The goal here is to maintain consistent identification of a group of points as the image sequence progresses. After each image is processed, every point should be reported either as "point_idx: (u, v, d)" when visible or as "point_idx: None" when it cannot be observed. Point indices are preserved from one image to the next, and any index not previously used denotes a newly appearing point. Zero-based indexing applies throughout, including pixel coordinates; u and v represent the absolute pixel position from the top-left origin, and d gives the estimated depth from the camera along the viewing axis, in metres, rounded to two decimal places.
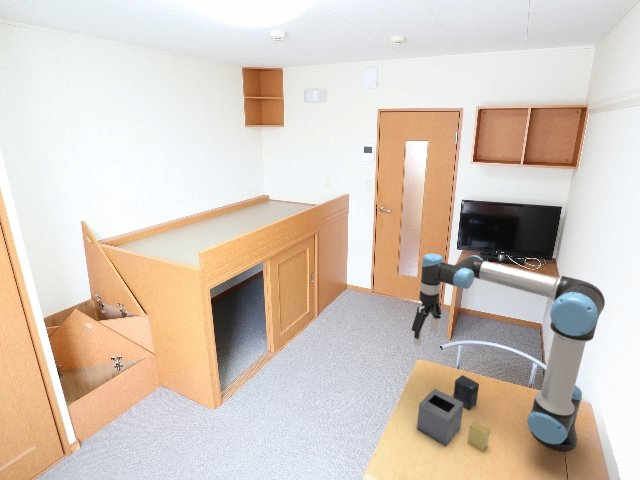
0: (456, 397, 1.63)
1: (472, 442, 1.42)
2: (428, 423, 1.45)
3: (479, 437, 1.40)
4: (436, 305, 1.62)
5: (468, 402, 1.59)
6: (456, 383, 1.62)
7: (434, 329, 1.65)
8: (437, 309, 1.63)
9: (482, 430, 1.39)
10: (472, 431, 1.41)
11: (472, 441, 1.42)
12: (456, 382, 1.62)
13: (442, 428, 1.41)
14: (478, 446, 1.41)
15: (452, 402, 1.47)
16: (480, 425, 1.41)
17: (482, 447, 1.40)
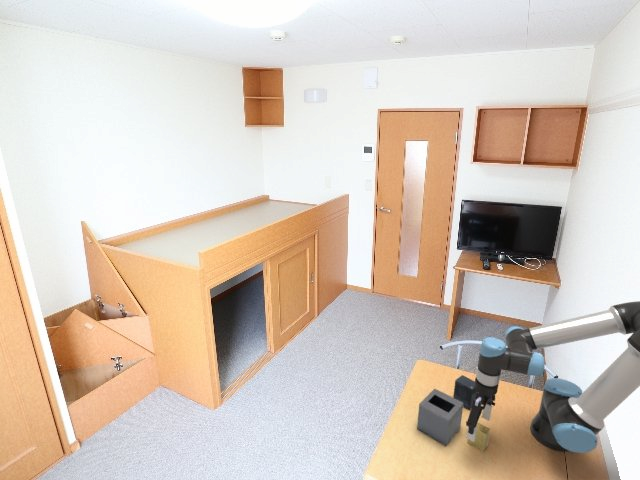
0: (456, 397, 1.63)
1: (472, 442, 1.42)
2: (428, 423, 1.45)
3: (479, 437, 1.40)
4: None
5: (468, 402, 1.59)
6: (456, 383, 1.62)
7: (487, 416, 1.45)
8: (492, 395, 1.43)
9: (482, 430, 1.39)
10: None
11: (472, 441, 1.42)
12: (456, 382, 1.62)
13: (442, 428, 1.41)
14: (478, 446, 1.41)
15: (452, 402, 1.47)
16: (480, 425, 1.41)
17: (482, 447, 1.40)
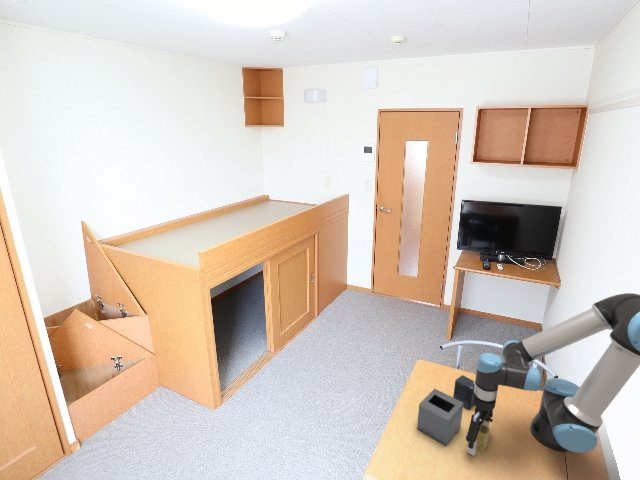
0: (456, 397, 1.63)
1: None
2: (428, 423, 1.45)
3: (479, 437, 1.40)
4: None
5: (468, 402, 1.59)
6: (456, 383, 1.62)
7: None
8: (489, 411, 1.44)
9: (482, 430, 1.39)
10: None
11: None
12: (456, 382, 1.62)
13: (442, 428, 1.41)
14: (478, 446, 1.41)
15: (452, 402, 1.47)
16: None
17: (482, 447, 1.40)
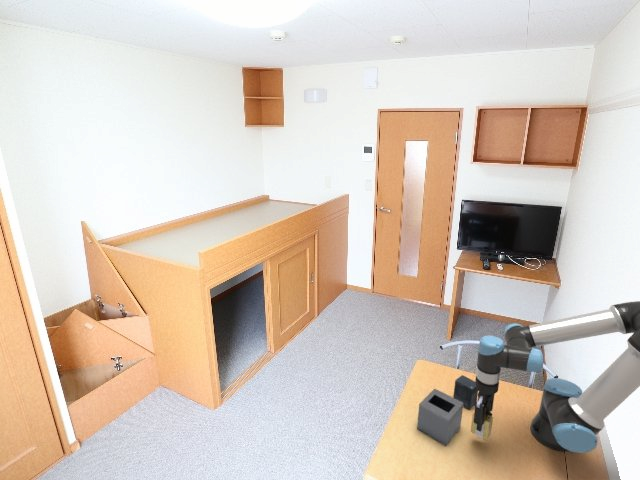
0: (456, 397, 1.63)
1: None
2: (428, 423, 1.45)
3: None
4: None
5: (468, 402, 1.59)
6: (456, 383, 1.62)
7: None
8: None
9: (485, 419, 1.38)
10: None
11: None
12: (456, 382, 1.62)
13: (442, 428, 1.41)
14: None
15: (452, 402, 1.47)
16: None
17: (485, 436, 1.38)
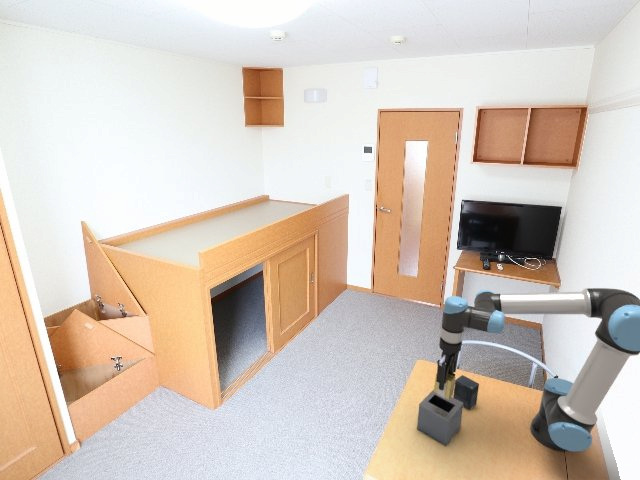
0: (456, 397, 1.63)
1: None
2: (428, 423, 1.45)
3: None
4: None
5: (468, 402, 1.59)
6: (456, 383, 1.62)
7: None
8: (454, 363, 1.44)
9: (448, 378, 1.41)
10: None
11: None
12: (456, 382, 1.62)
13: (442, 428, 1.41)
14: None
15: (452, 402, 1.47)
16: None
17: (447, 395, 1.42)
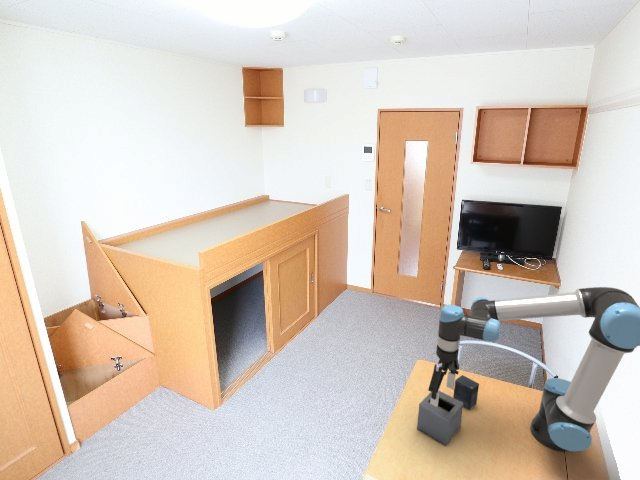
0: (456, 397, 1.63)
1: None
2: (428, 423, 1.45)
3: None
4: (454, 359, 1.46)
5: (468, 402, 1.59)
6: (456, 383, 1.62)
7: (451, 385, 1.49)
8: (455, 363, 1.47)
9: None
10: None
11: None
12: (456, 382, 1.62)
13: (442, 428, 1.41)
14: None
15: (452, 402, 1.47)
16: (440, 408, 1.48)
17: None
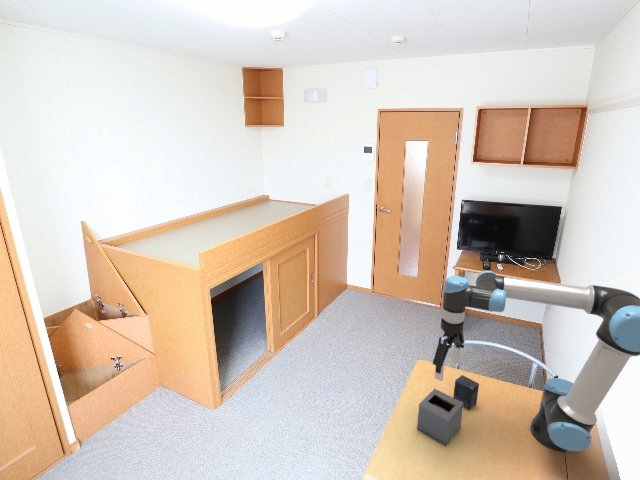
0: (456, 397, 1.63)
1: None
2: (428, 423, 1.45)
3: None
4: (459, 333, 1.42)
5: (468, 402, 1.59)
6: (456, 383, 1.62)
7: (457, 360, 1.46)
8: (460, 337, 1.44)
9: None
10: None
11: None
12: (456, 382, 1.62)
13: (442, 428, 1.41)
14: None
15: (452, 402, 1.47)
16: (440, 408, 1.48)
17: None
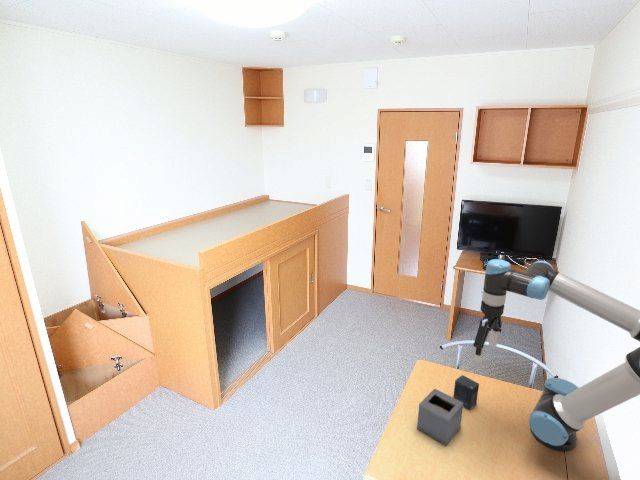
0: (456, 397, 1.63)
1: None
2: (428, 423, 1.45)
3: None
4: (497, 317, 1.44)
5: (468, 402, 1.59)
6: (456, 383, 1.62)
7: (494, 343, 1.47)
8: (498, 321, 1.45)
9: None
10: None
11: None
12: (456, 382, 1.62)
13: (442, 428, 1.41)
14: None
15: (452, 402, 1.47)
16: (440, 408, 1.48)
17: None
